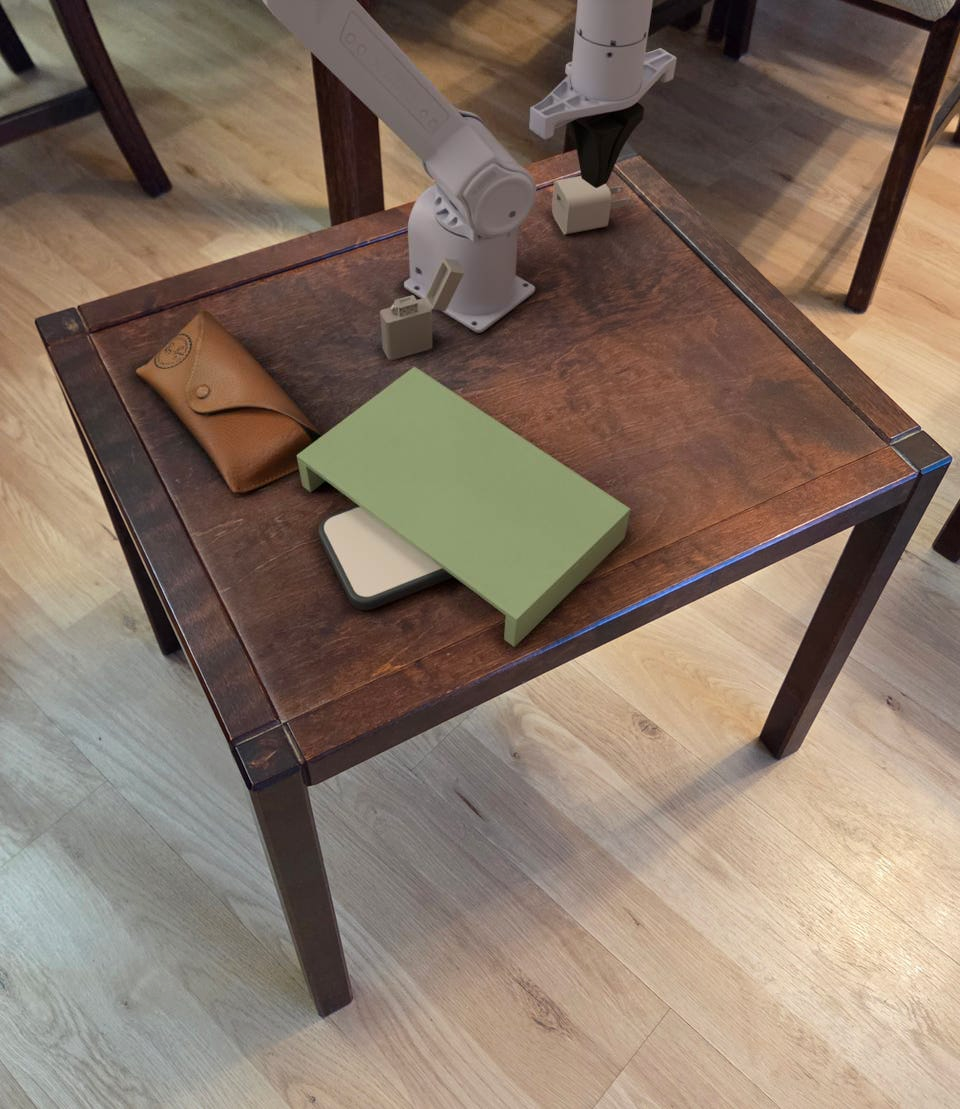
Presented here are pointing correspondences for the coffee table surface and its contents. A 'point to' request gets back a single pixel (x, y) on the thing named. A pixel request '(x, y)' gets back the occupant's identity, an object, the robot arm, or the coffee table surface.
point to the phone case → (374, 559)
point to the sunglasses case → (230, 404)
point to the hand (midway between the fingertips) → (594, 180)
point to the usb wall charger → (583, 204)
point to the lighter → (418, 314)
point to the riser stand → (470, 496)
